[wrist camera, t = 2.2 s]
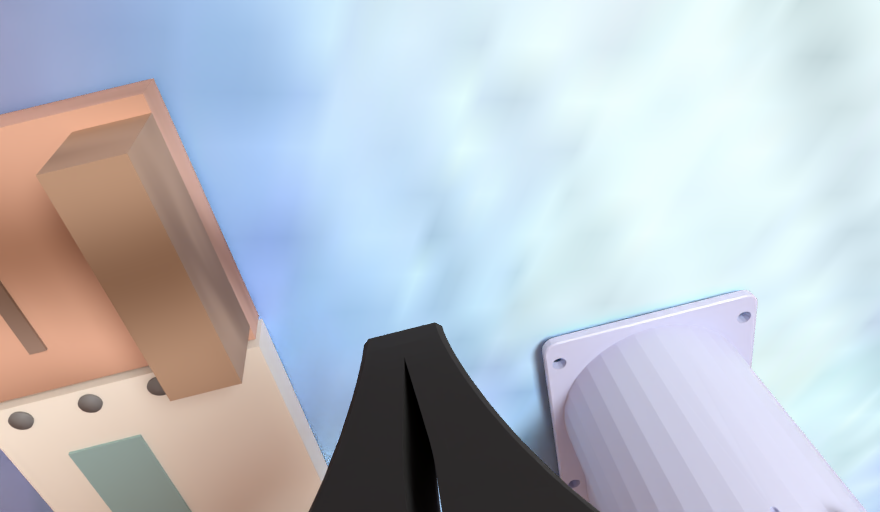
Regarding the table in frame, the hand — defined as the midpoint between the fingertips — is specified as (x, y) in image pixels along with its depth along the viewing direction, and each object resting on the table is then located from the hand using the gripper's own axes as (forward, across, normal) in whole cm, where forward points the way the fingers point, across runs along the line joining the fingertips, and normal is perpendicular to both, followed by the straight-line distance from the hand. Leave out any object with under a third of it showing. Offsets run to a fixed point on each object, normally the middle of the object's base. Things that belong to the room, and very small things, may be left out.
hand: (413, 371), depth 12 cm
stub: (+9, +10, 0) cm, 13 cm away
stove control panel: (+9, +10, +10) cm, 17 cm away
